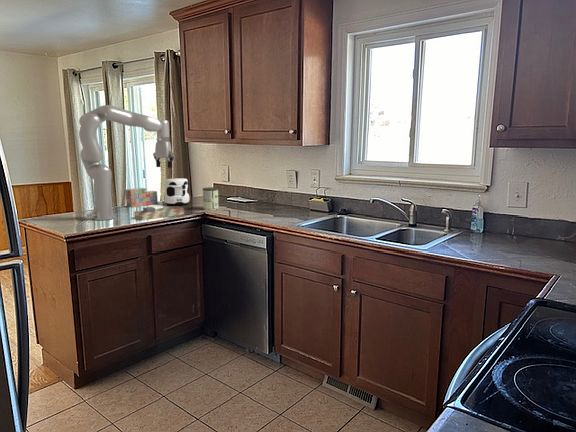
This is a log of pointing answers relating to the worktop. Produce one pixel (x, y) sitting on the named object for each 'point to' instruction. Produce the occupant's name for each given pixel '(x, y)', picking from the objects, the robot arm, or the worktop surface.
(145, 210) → the block
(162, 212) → the lane
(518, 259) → the worktop surface
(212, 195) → the coffee can
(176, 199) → the milk container
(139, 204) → the stack of blocks
